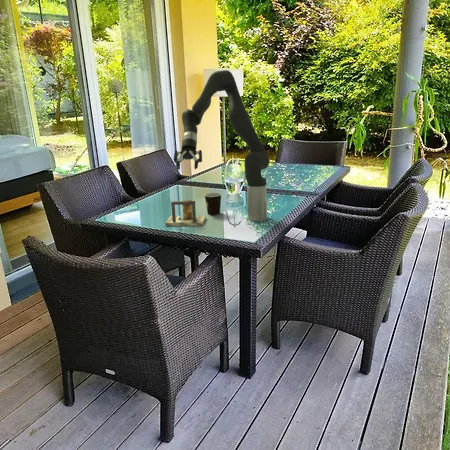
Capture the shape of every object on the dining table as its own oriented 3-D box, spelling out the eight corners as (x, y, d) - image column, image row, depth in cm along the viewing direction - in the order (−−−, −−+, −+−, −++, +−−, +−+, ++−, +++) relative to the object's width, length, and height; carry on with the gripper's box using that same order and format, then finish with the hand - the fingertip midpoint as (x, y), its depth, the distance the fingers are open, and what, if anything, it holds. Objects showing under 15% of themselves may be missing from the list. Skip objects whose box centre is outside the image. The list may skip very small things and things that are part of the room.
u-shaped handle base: (205, 218, 222) (204, 196, 218) (202, 225, 211) (201, 201, 208) (170, 219, 224) (168, 196, 220) (165, 225, 213) (163, 202, 210)
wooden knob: (194, 218, 223) (193, 199, 219) (192, 222, 217) (191, 202, 214) (183, 218, 223) (182, 199, 220) (181, 222, 218) (180, 202, 215)
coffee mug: (206, 211, 235) (205, 193, 232) (222, 210, 234) (221, 192, 231) (204, 217, 224) (203, 198, 220) (221, 217, 223) (220, 198, 220)
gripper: (174, 138, 225) (171, 164, 218) (202, 137, 224) (199, 163, 216) (177, 147, 232) (174, 173, 224) (204, 146, 230) (202, 172, 223)
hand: (186, 168), depth 220 cm, fingers open, 8 cm apart
